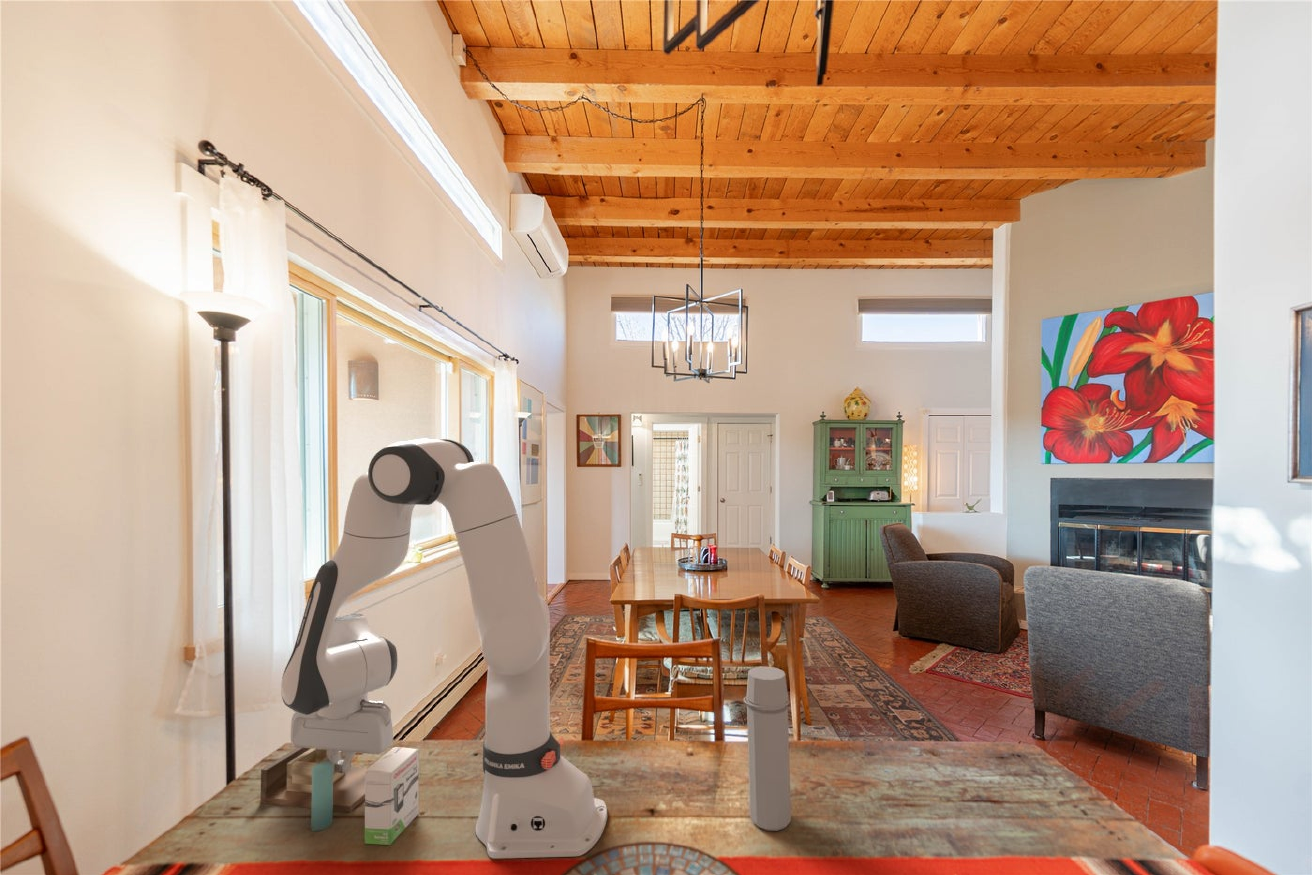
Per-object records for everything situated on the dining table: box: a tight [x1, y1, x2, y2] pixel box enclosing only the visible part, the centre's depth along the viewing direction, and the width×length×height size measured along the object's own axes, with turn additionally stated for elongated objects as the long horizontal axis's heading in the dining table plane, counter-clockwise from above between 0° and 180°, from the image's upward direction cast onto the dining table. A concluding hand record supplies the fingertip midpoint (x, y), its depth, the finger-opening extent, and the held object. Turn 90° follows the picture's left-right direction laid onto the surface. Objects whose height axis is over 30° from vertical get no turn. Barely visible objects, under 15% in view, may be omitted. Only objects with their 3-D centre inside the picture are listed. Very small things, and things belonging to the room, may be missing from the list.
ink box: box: [364, 746, 420, 846], centre depth 96 cm, size 9×5×12 cm, turn 172°
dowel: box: [310, 761, 334, 832], centre depth 97 cm, size 3×3×10 cm
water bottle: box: [743, 666, 792, 832], centre depth 98 cm, size 9×8×25 cm
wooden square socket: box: [287, 748, 346, 793], centre depth 109 cm, size 7×7×5 cm
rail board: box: [260, 747, 369, 813], centre depth 108 cm, size 19×12×6 cm, turn 80°
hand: (341, 771), depth 108 cm, fingers closed
